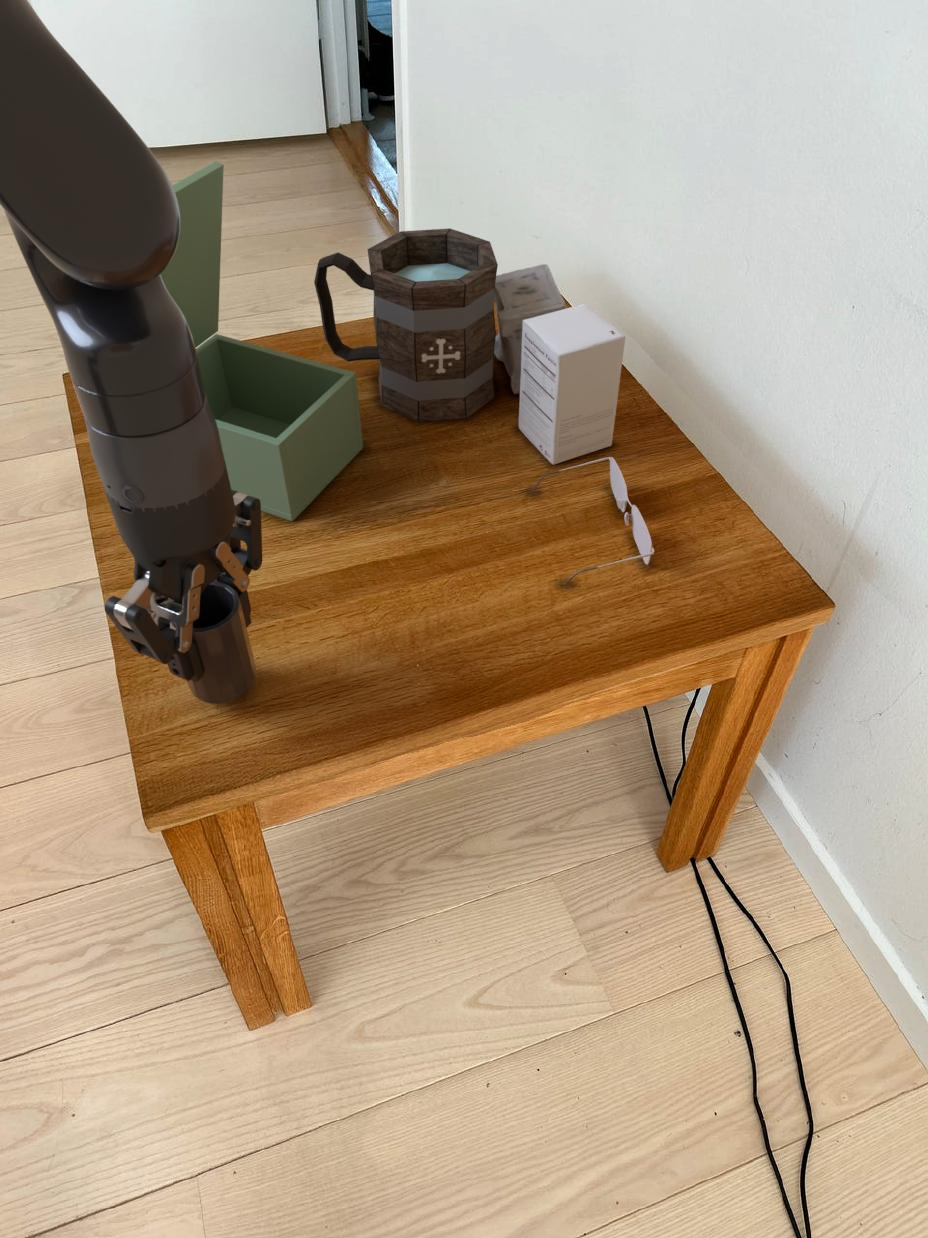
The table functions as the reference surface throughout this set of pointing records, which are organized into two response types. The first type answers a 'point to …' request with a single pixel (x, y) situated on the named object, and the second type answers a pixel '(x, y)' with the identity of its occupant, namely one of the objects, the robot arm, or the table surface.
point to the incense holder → (521, 311)
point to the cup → (221, 646)
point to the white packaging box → (569, 382)
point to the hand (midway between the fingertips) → (214, 648)
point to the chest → (280, 421)
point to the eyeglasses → (621, 496)
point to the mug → (425, 321)
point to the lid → (198, 251)
